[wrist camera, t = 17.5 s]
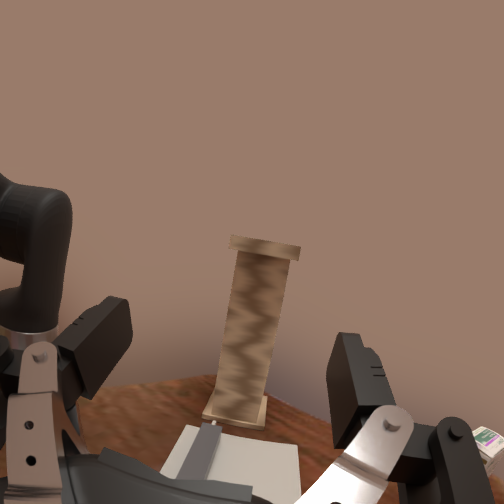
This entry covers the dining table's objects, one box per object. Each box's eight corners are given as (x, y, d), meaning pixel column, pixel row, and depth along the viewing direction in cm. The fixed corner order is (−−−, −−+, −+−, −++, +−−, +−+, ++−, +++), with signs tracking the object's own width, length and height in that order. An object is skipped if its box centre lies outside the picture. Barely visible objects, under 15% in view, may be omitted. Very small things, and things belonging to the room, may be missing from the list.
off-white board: (120, 543, 13) (119, 539, 13) (186, 428, 39) (186, 424, 39) (302, 579, 12) (305, 576, 12) (295, 449, 38) (297, 445, 38)
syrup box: (431, 502, 21) (480, 423, 21) (454, 521, 15) (512, 440, 15) (405, 517, 20) (458, 435, 20) (429, 539, 14) (493, 456, 14)
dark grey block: (175, 561, 13) (145, 551, 13) (222, 434, 38) (203, 430, 39) (176, 551, 13) (143, 540, 13) (224, 420, 38) (205, 416, 39)
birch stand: (198, 425, 41) (227, 234, 41) (215, 389, 56) (240, 239, 56) (262, 438, 40) (304, 247, 40) (266, 399, 55) (296, 249, 55)
